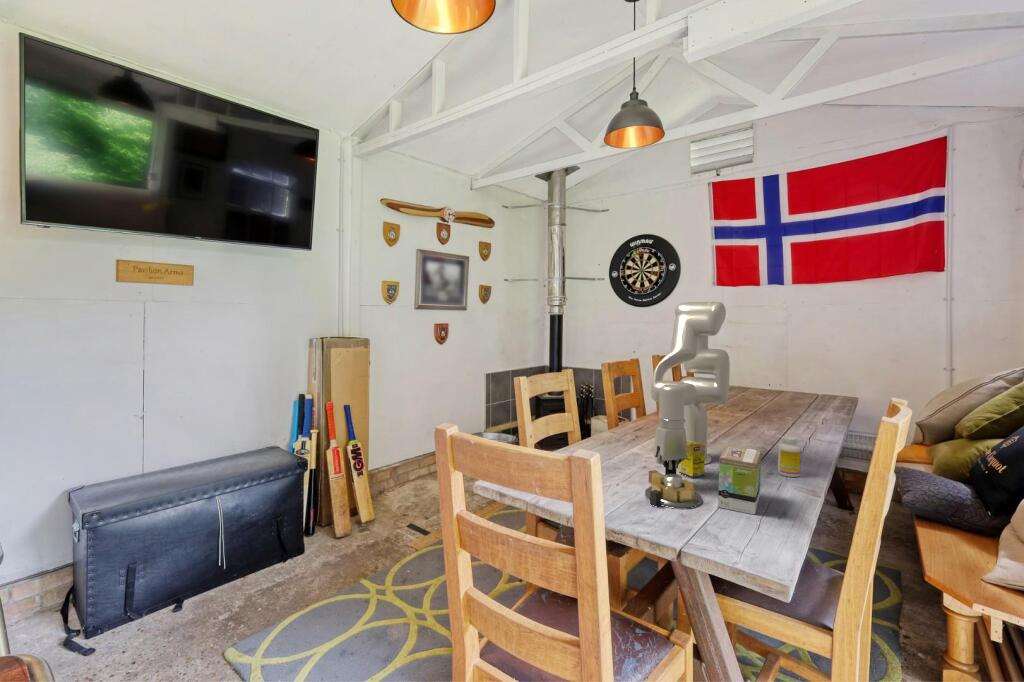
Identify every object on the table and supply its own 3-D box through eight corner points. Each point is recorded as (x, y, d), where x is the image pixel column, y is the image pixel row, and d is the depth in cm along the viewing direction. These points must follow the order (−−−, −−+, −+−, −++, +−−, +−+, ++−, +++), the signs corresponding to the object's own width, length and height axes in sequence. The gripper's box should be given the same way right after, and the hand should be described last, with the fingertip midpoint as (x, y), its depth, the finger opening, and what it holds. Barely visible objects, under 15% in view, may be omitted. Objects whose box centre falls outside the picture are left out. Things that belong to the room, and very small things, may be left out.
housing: (630, 492, 143) (630, 471, 142) (677, 485, 148) (678, 465, 148) (661, 512, 127) (662, 489, 127) (713, 504, 133) (714, 482, 132)
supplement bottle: (803, 478, 154) (804, 440, 153) (781, 477, 155) (782, 439, 155) (795, 471, 161) (796, 435, 160) (774, 470, 162) (775, 434, 161)
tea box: (756, 515, 125) (757, 462, 125) (716, 507, 131) (717, 456, 130) (760, 497, 138) (761, 449, 137) (724, 490, 144) (724, 444, 143)
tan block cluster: (636, 483, 146) (636, 470, 146) (667, 479, 150) (667, 467, 150) (668, 503, 131) (668, 489, 130) (702, 498, 134) (702, 484, 134)
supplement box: (692, 479, 154) (693, 447, 153) (678, 473, 159) (679, 442, 159) (705, 476, 157) (705, 444, 156) (690, 471, 162) (691, 440, 161)
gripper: (681, 419, 152) (680, 473, 153) (644, 423, 147) (644, 479, 148) (698, 424, 145) (697, 480, 146) (660, 428, 140) (660, 487, 141)
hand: (670, 480), depth 147 cm, fingers closed
